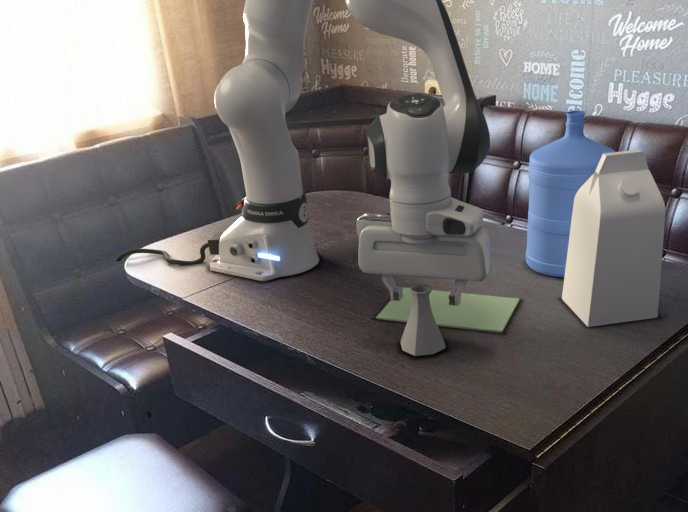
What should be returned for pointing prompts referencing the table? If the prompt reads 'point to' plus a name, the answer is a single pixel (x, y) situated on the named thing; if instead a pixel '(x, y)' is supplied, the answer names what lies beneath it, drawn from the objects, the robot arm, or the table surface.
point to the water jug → (557, 194)
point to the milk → (616, 243)
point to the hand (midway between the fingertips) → (425, 301)
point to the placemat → (457, 310)
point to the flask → (421, 325)
